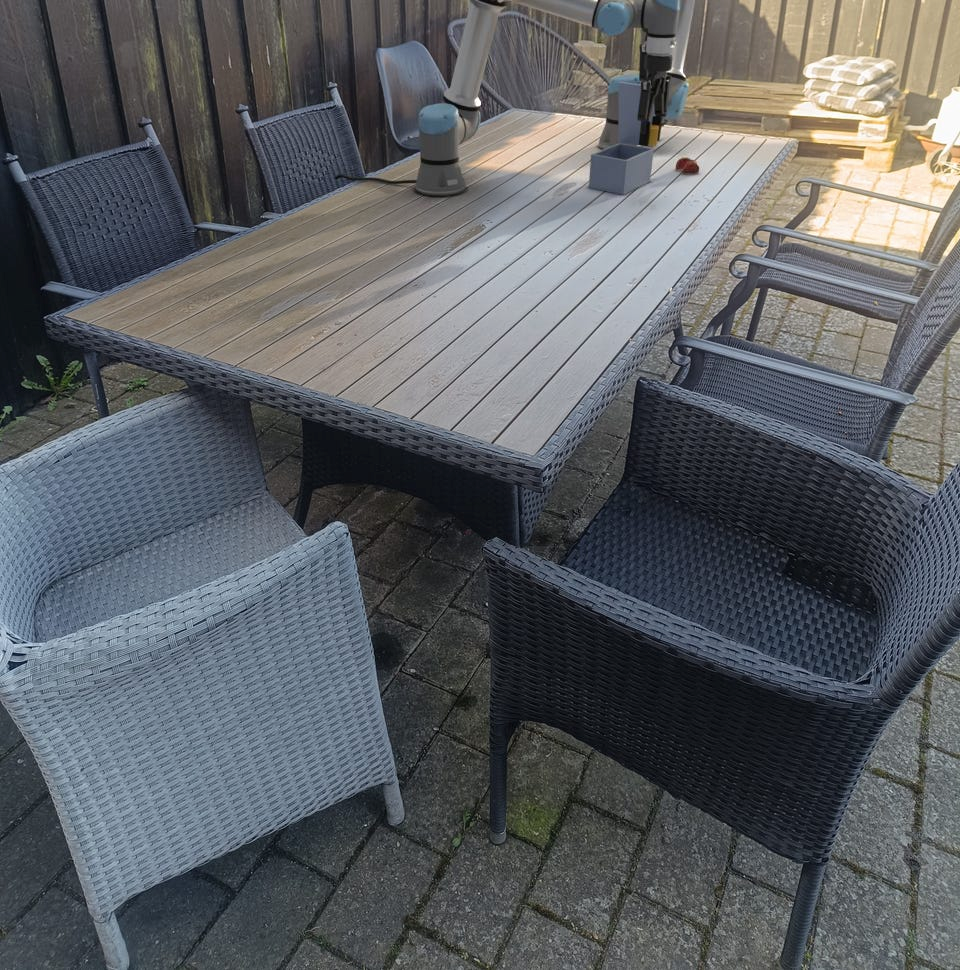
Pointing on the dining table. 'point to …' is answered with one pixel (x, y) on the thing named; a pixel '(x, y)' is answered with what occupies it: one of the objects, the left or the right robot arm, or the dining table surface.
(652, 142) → the block
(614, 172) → the chest
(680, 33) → the right robot arm
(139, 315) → the dining table surface
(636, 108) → the lid
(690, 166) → the dark red rounded lump
